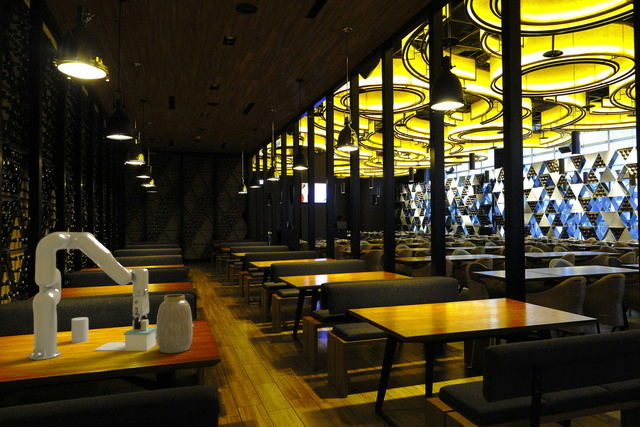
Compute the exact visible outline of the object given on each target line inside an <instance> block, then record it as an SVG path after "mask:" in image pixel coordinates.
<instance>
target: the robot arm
mask: <svg viewBox="0 0 640 427" xmlns="http://www.w3.org/2000/svg"><path fill="white" fill-rule="evenodd" d="M65 249H66V250H80V251H81V252H82V253H83V254H84V255H85V256H87V257H88V258H89V259H90V260H92V262H93V263H95V264H96V265H97V266H98V267H99V268H100V269H101V270H102V271H103V272H104V273H105V274H106V275H107V276H108V277H109V278H111V279H112V280H113V281H114V282H115V283H116V284H118V285H121V286H125V285H128V284H129V283H132V297H133V300H132V318H133V320H134V330H140V329H141V321H140V320H148V314H149V313H150V300H149V299H150V298H149V270H148V269H147V268H142V267H141V268H125V267H124V266H123V265H121V264H120V263H119V262H118V260H116V258H115V257H114V256H113V254H112V252H111V251H110V250H109V249H108V248H106V246H104V245H103V244H102V243H101V242H100V241H99V240H97V238H96V237H95V235H94V234H92V233H91V232H87V231H86V232H85V231H84V232H75V231H73V232H69V231H56V232H52V233H49V234H47V235H46V236H44V237H42V238H41V239H40V240H39V242H38V243H37V246H36V249H35V265H34V266H35V268H34V269H35V274H34V281H35V284H36V285H37V286H38V287H39V292H38V293H36V294H35V296H34V297H33V300H32V311H33V349H32V352H30V353H28V358H29V359H30V360H34V361H35V360H36V361H38V360H39V361H41V360H49V359H54V358H56V357H59V356H60V355H61V354H62V353H61V351H60V350H58V313H57V305H58V304H59V302H60V301H61V298H62V275H61V271H60V270H59V269H58V268H57V263H56V262H57V257H56V256H57V255H56V254H57V251H59V250H65Z"/></svg>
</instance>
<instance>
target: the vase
mask: <svg viewBox="0 0 640 427" xmlns="http://www.w3.org/2000/svg"><path fill="white" fill-rule="evenodd" d="M163 298H164V300H163V301H162V302H161V303H160V305H159V308H158V311H157V316H156V327H157V330H156V335H157V339H156V345H157V347H158V349H159V351H160V352H161V353H164V354H176V353H182V352H186V351H187V350H189V349H190V347H191V344H192V342H193V327H192V324H193V315H192V310H191V306H190V303H189V302H188V301H187V300H186V299H185V298H186V297H185V294H181V293H178V294H177V293H175V294H174V293H173V294H166V295H164V297H163Z"/></svg>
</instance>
